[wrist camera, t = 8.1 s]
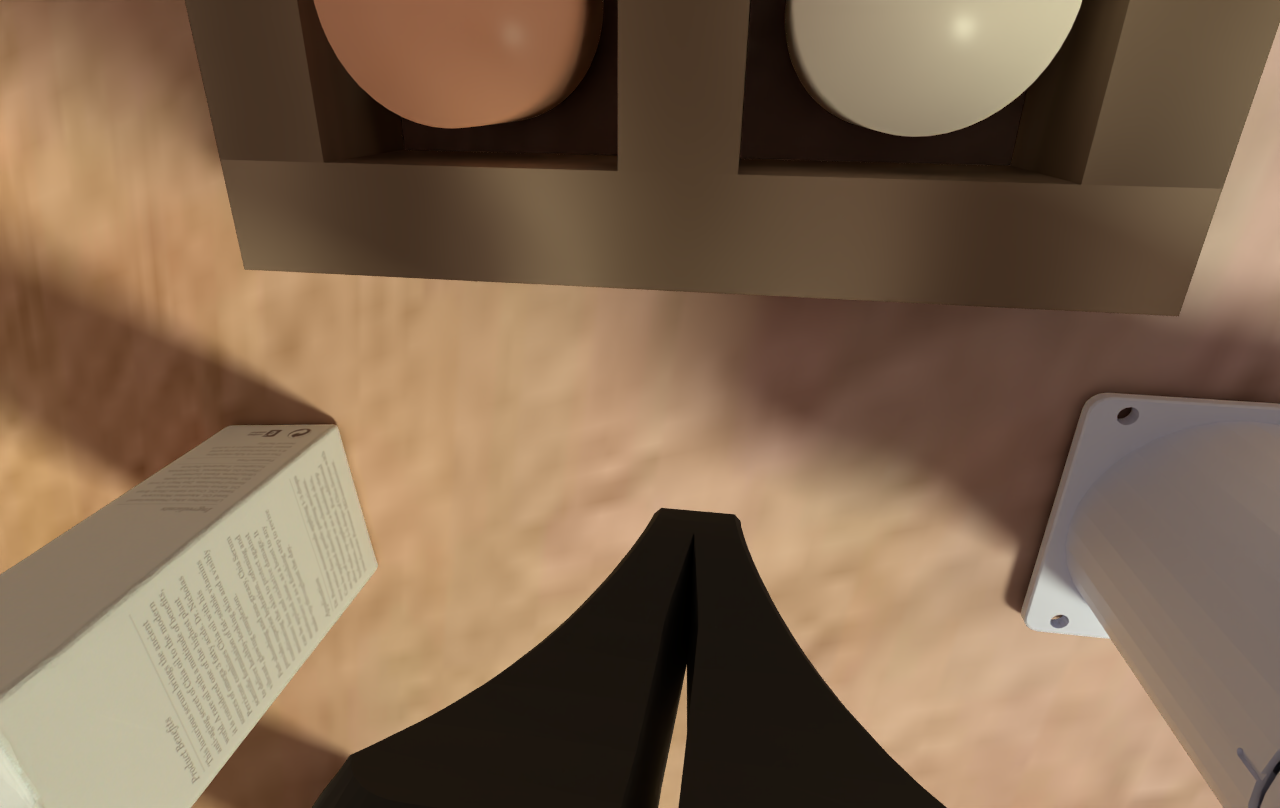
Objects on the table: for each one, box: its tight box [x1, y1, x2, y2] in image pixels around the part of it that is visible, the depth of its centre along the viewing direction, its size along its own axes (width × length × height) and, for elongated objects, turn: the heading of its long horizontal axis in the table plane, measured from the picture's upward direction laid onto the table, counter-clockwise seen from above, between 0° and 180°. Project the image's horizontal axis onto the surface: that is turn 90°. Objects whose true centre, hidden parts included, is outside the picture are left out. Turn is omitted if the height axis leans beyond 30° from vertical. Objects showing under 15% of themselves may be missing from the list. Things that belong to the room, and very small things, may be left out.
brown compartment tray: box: [185, 0, 1280, 316], centre depth 15 cm, size 21×12×4 cm, turn 89°
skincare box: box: [0, 424, 378, 808], centre depth 19 cm, size 6×4×12 cm
